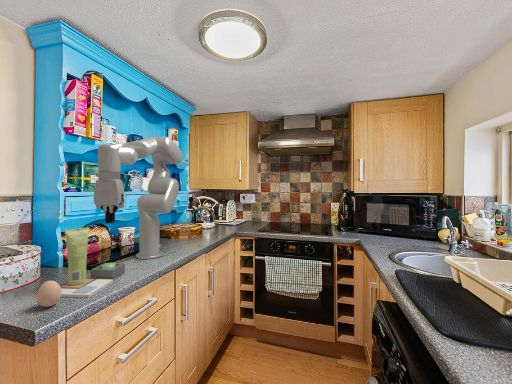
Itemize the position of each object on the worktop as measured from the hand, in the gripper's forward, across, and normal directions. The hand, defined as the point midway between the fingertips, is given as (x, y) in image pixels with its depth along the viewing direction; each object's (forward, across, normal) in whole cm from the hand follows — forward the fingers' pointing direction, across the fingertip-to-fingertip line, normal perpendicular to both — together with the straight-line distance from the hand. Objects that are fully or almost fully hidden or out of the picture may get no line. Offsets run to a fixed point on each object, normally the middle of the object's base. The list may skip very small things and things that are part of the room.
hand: (110, 222), depth 99 cm
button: (+21, 0, -1) cm, 21 cm away
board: (+21, -2, -13) cm, 25 cm away
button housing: (+21, 0, -1) cm, 21 cm away
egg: (+21, -3, -26) cm, 33 cm away
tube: (+20, -5, -11) cm, 23 cm away
